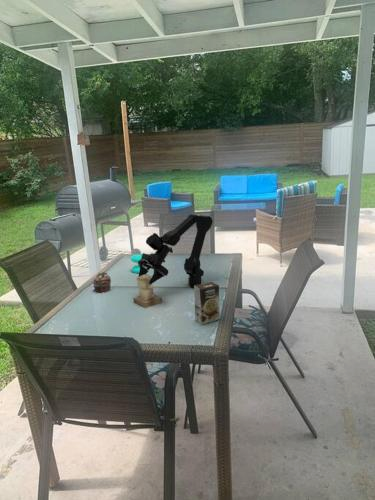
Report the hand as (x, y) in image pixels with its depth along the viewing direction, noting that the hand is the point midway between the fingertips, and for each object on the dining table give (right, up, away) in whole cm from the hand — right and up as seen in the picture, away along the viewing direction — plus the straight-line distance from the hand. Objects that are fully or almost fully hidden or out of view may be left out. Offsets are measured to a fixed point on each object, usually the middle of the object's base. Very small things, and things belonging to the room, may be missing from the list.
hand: (143, 282), depth 190 cm
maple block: (+1, -8, +3) cm, 8 cm away
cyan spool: (-9, +2, +55) cm, 56 cm away
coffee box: (+30, -15, -20) cm, 39 cm away
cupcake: (-25, -7, +24) cm, 36 cm away
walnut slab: (+2, -11, +4) cm, 12 cm away
